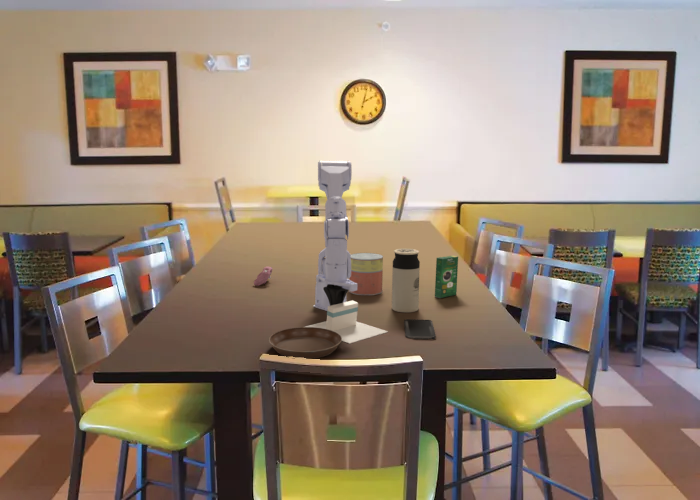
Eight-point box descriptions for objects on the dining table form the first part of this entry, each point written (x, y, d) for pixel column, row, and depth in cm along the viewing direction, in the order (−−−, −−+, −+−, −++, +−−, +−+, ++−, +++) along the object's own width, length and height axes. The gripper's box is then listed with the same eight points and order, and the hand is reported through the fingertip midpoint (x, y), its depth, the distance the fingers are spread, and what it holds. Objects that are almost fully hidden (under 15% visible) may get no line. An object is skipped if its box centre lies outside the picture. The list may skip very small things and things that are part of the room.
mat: (304, 328, 168) (304, 326, 168) (342, 318, 178) (342, 316, 178) (349, 344, 156) (349, 343, 156) (388, 332, 165) (388, 331, 165)
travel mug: (386, 309, 187) (387, 250, 184) (402, 304, 193) (404, 247, 189) (407, 315, 181) (408, 254, 178) (423, 309, 187) (425, 250, 184)
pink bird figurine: (264, 290, 215) (273, 273, 214) (252, 284, 215) (261, 267, 213) (267, 283, 225) (276, 267, 224) (256, 278, 224) (264, 261, 223)
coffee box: (450, 293, 207) (452, 254, 204) (457, 295, 205) (458, 255, 202) (434, 297, 202) (435, 257, 199) (440, 298, 200) (442, 258, 197)
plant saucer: (350, 358, 147) (350, 346, 146) (275, 366, 142) (275, 353, 141) (331, 335, 163) (331, 324, 163) (263, 341, 158) (263, 330, 158)
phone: (405, 336, 160) (404, 319, 175) (405, 340, 160) (403, 322, 175) (436, 336, 160) (432, 319, 174) (436, 341, 160) (432, 323, 175)
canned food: (389, 292, 208) (390, 257, 205) (361, 297, 201) (362, 260, 199) (369, 285, 217) (369, 251, 214) (342, 289, 210) (342, 255, 208)
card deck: (325, 328, 166) (327, 306, 164) (350, 322, 172) (352, 300, 170) (331, 331, 164) (333, 309, 163) (356, 324, 170) (358, 302, 169)
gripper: (307, 260, 169) (307, 309, 171) (343, 269, 158) (343, 321, 161) (327, 257, 173) (327, 304, 176) (363, 265, 163) (362, 315, 165)
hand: (336, 312), depth 169 cm, fingers closed
